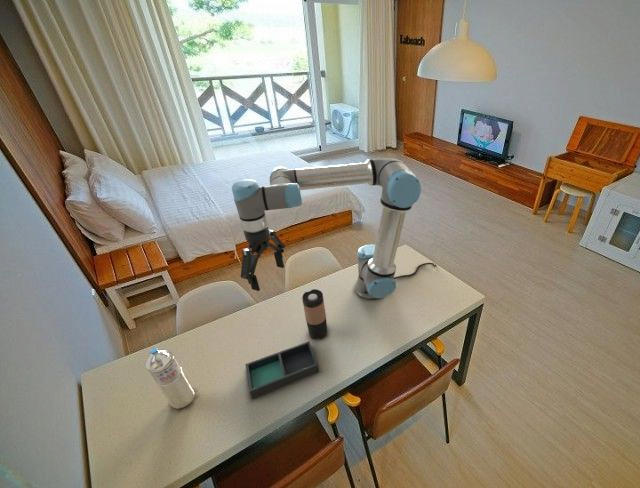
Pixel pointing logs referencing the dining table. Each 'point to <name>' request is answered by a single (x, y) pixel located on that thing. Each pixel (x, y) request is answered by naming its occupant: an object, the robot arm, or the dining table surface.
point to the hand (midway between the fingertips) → (269, 277)
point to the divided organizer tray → (281, 369)
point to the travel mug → (315, 313)
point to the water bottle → (170, 378)
